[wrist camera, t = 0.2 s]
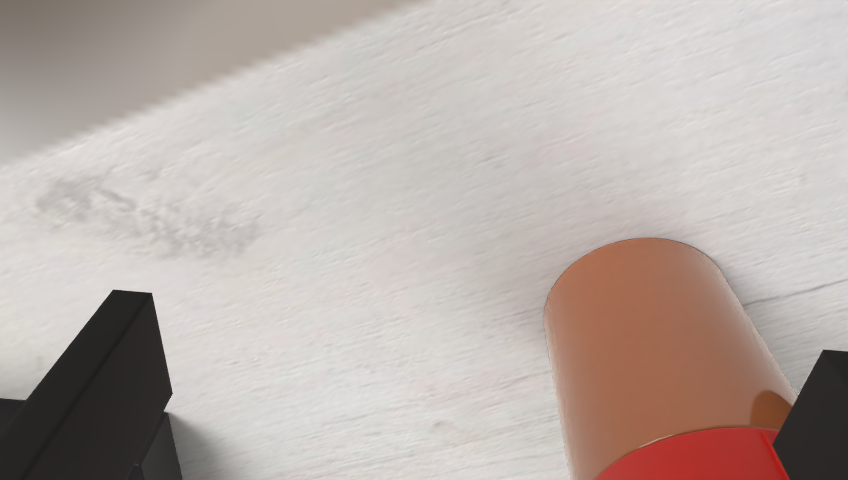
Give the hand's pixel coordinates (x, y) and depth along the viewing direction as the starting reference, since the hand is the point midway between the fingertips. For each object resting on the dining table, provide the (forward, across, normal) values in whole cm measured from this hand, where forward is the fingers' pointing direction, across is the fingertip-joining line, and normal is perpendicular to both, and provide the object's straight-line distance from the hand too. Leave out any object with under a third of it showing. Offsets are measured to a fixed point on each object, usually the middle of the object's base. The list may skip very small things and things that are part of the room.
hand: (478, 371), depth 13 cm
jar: (+11, +7, -6) cm, 14 cm away
